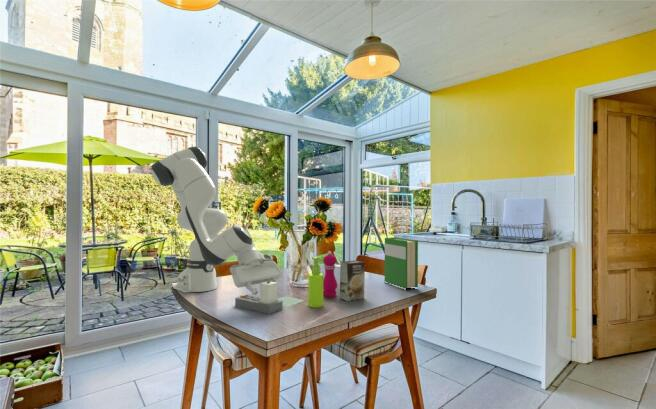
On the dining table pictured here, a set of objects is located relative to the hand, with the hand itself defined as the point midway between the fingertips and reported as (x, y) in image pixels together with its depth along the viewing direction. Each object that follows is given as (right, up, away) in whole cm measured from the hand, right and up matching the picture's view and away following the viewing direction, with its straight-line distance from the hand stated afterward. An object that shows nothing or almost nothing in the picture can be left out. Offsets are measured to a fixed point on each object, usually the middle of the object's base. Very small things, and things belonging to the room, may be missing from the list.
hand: (266, 291), depth 122 cm
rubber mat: (+6, -8, +11) cm, 15 cm away
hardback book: (+61, -9, +43) cm, 75 cm away
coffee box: (+34, -8, +19) cm, 40 cm away
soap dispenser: (+19, -8, +6) cm, 22 cm away
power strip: (-3, -8, +2) cm, 9 cm away
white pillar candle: (+1, -7, 0) cm, 7 cm away
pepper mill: (+24, -8, +24) cm, 35 cm away
